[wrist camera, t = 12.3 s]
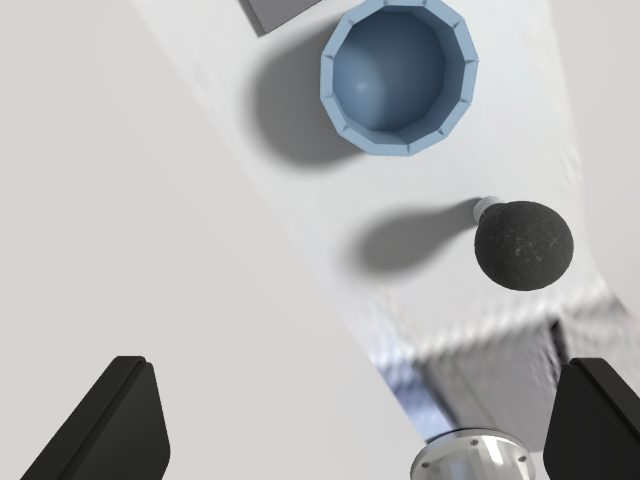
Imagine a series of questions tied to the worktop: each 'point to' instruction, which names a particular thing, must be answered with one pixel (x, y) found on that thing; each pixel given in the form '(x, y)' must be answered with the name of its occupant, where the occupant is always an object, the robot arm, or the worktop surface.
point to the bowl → (398, 75)
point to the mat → (278, 11)
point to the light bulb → (521, 243)
